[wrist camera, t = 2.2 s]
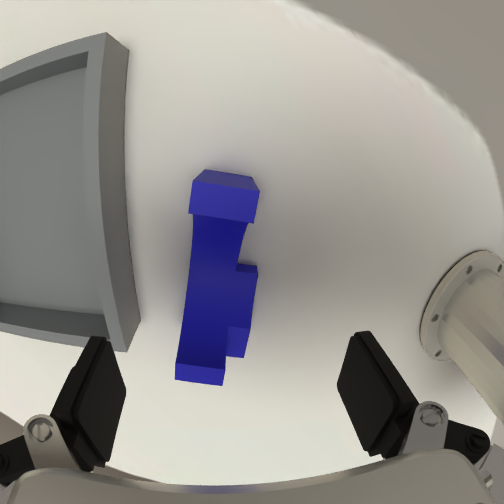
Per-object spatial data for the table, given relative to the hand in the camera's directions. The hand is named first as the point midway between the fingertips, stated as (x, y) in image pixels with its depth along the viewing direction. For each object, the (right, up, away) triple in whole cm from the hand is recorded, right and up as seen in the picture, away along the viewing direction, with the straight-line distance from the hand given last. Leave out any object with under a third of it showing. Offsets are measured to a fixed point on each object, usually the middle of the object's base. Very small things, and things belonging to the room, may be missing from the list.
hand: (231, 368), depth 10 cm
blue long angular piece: (-1, +4, +10) cm, 11 cm away
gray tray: (-16, +8, +7) cm, 19 cm away
